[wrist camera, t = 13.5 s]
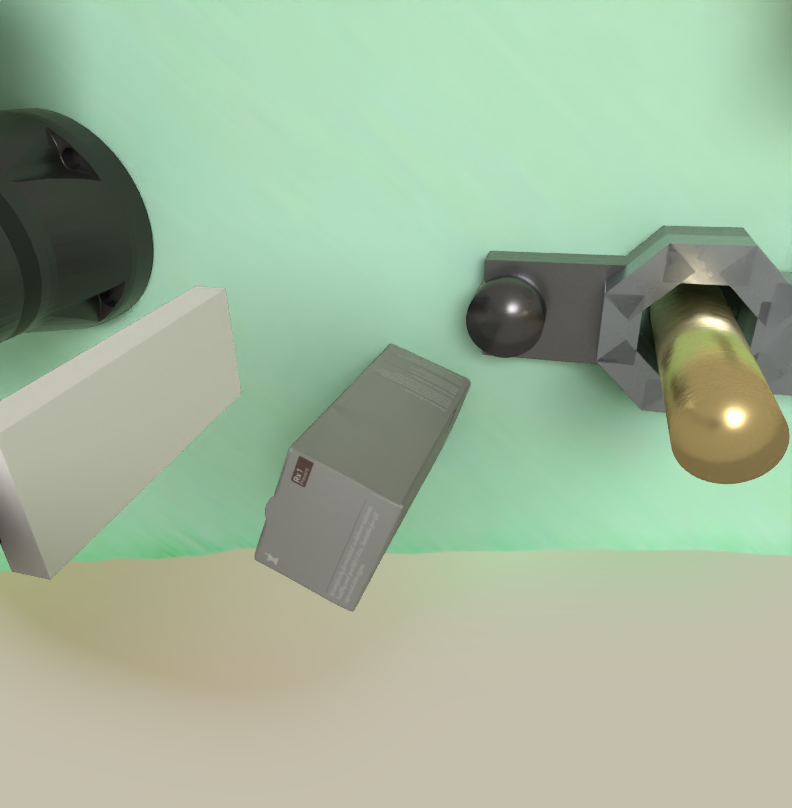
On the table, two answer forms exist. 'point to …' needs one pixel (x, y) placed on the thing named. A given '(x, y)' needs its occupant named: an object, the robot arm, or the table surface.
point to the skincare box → (359, 475)
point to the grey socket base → (629, 305)
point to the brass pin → (714, 389)
